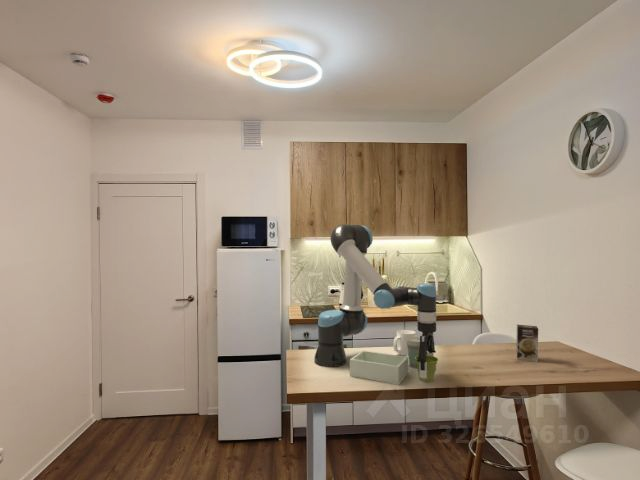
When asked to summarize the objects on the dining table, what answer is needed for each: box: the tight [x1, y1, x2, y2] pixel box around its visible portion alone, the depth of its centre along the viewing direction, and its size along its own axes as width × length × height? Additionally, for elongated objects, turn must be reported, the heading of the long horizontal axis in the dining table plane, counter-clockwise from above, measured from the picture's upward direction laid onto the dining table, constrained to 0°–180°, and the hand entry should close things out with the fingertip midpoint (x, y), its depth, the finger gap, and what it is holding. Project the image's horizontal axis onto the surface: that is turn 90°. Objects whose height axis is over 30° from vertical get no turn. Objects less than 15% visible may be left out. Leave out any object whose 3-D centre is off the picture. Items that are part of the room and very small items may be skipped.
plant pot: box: [415, 355, 439, 382], centre depth 166 cm, size 9×9×9 cm
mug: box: [392, 329, 418, 356], centre depth 203 cm, size 14×10×11 cm
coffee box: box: [515, 324, 539, 363], centre depth 195 cm, size 9×6×16 cm
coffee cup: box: [407, 337, 420, 369], centre depth 183 cm, size 8×8×12 cm
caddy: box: [349, 350, 409, 385], centre depth 171 cm, size 21×15×7 cm
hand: (426, 372), depth 166 cm, fingers open, 13 cm apart
